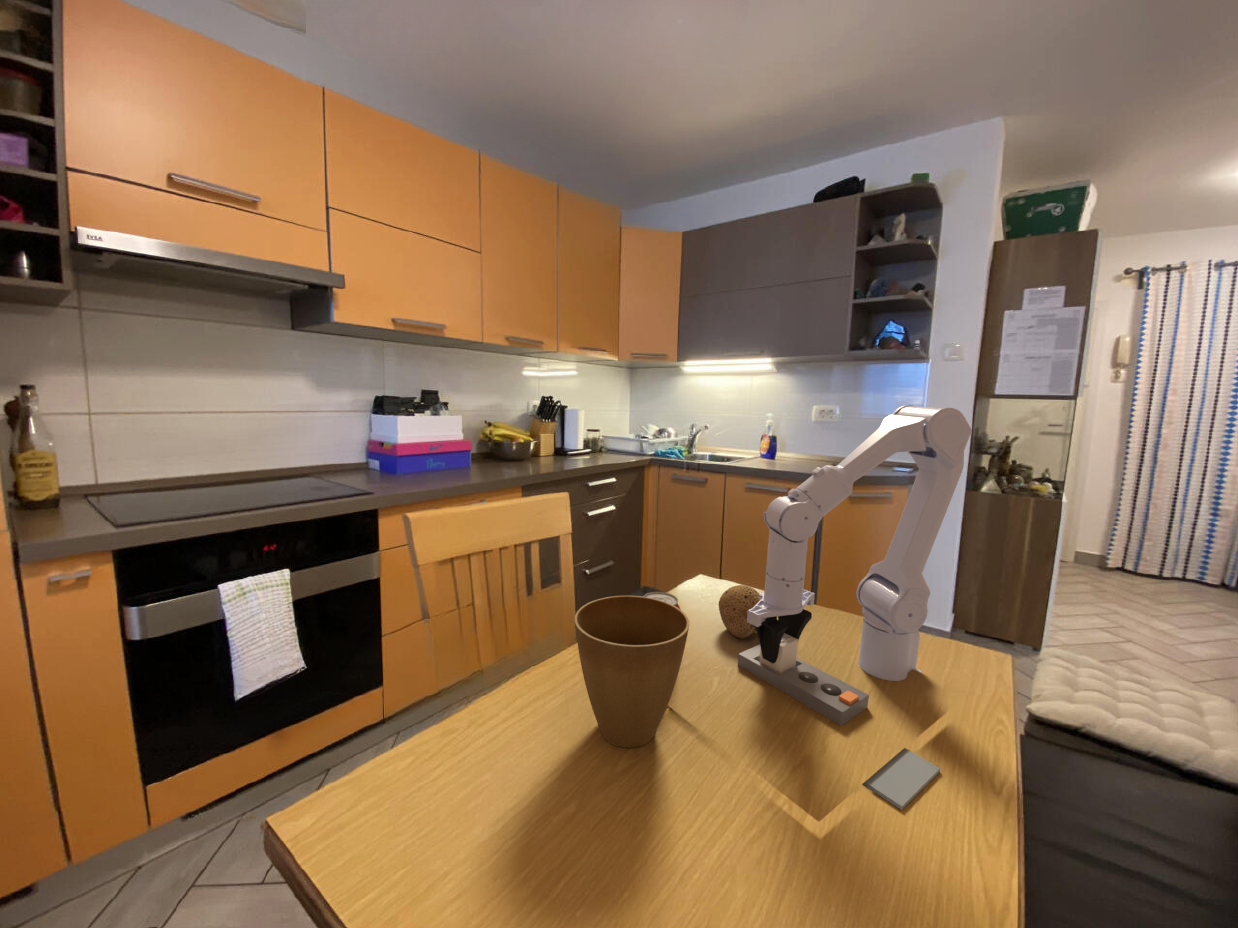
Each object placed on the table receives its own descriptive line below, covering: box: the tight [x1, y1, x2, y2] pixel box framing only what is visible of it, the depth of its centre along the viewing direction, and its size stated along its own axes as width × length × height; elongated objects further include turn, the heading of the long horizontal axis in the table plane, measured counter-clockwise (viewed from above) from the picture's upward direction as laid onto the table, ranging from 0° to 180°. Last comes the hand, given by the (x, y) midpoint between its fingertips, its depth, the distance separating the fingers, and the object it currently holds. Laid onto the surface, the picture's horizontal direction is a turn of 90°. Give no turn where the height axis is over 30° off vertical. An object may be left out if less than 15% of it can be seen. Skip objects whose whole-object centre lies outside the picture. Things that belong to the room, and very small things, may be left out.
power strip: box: [737, 644, 870, 727], centre depth 78 cm, size 7×18×4 cm, turn 37°
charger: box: [759, 633, 799, 674], centre depth 81 cm, size 4×4×6 cm
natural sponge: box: [718, 584, 761, 639], centre depth 93 cm, size 9×9×10 cm
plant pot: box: [574, 595, 690, 748], centre depth 67 cm, size 15×15×16 cm
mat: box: [862, 747, 941, 811], centre depth 63 cm, size 10×10×1 cm
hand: (778, 655), depth 81 cm, fingers closed on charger, 4 cm apart
